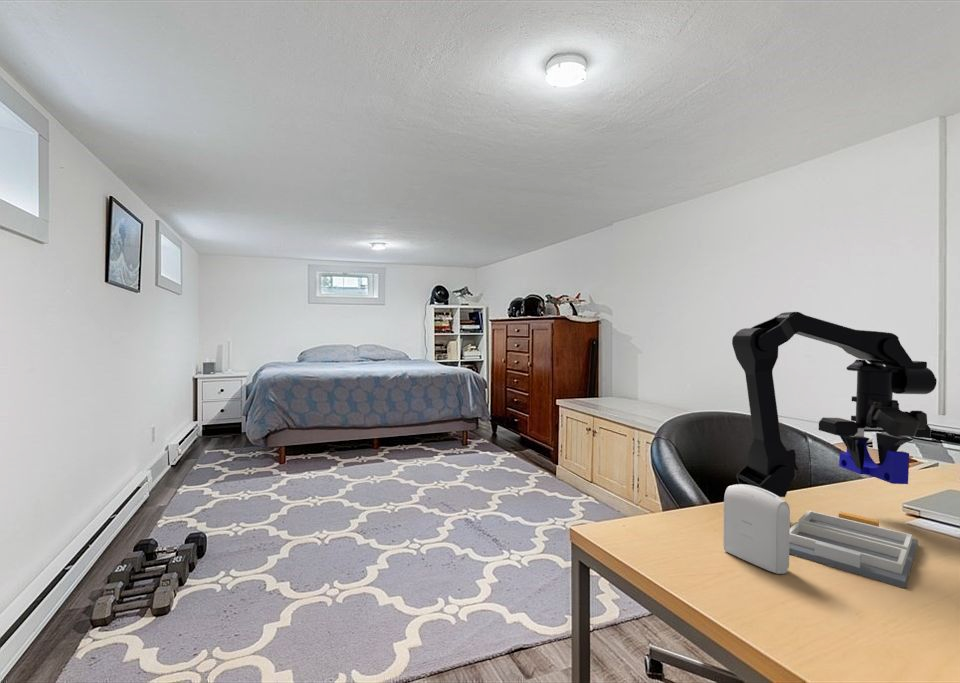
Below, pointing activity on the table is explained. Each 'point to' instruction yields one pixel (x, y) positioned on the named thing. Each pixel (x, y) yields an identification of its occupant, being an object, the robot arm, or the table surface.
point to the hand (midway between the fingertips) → (871, 468)
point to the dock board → (854, 546)
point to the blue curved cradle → (889, 471)
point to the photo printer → (757, 527)
